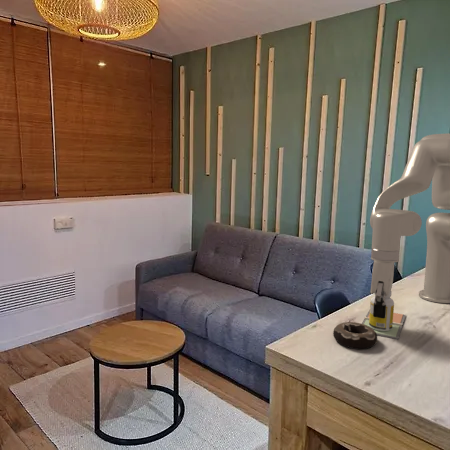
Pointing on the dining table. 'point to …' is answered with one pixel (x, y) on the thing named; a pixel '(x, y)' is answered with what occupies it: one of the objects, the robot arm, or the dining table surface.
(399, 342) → the dining table surface
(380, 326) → the pill bottle
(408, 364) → the dining table surface
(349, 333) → the donut
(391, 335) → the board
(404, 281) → the dining table surface
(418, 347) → the dining table surface
